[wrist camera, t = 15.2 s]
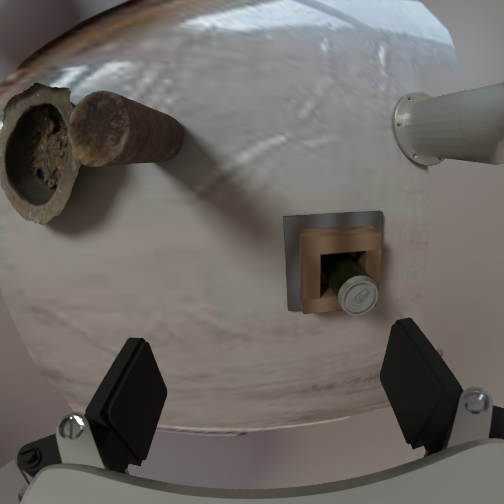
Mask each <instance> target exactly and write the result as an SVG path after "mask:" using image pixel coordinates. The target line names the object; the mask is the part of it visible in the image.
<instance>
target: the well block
mask: <svg viewBox="0 0 504 504" xmlns="http://www.w3.org/2000/svg"><path fill="white" fill-rule="evenodd" d="M283 220H284V237H285V255H286V276H287V301H288V311H293V310H303V314H310V313H320V312H329V311H338V310H343V309H342V308H341V307H340V306H339V304H338V302H337V300H336V298H335V296H334V294H333V292H332V290H331V288H330V286H329V284H328V282H327V280H326V278H325V276H324V274H323V272H322V269H321V263H322V259H323V258H324V256H325V255H326V254H332V253H345V252H349V253H350V254H351V255H352V256H353V257H354V258H355V260H356V261H357V262H358V263H359V264H360V265H361V267H362V268H363V269H364V270H365V271H366V272H367V274H368V275H369V276H370V277H371V278H372V280H373V281H374V282H375V284H376V287H377V290H378V286H379V277H380V266H381V254H382V239H383V233H382V221H383V212H381V211H367V212H346V213H327V214H311V215H296V216H283ZM374 306H376V304H375V305H374Z"/></svg>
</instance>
